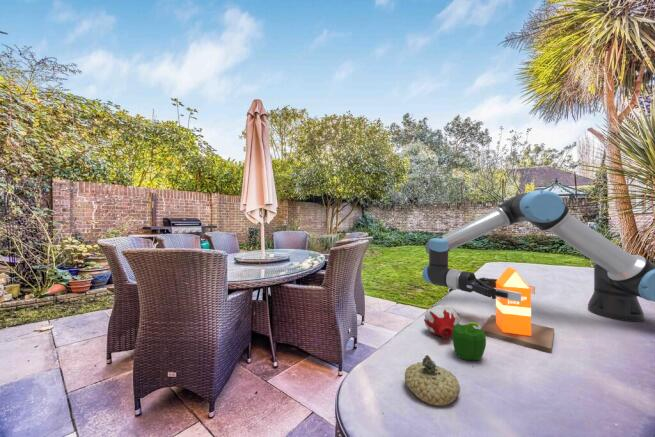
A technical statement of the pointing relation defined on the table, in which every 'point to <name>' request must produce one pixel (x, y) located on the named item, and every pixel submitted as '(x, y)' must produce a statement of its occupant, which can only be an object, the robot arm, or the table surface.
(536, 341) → the board
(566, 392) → the table surface
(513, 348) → the table surface
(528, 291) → the orange juice
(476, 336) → the bell pepper
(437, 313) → the white red rounded lump
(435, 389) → the acorn cap
